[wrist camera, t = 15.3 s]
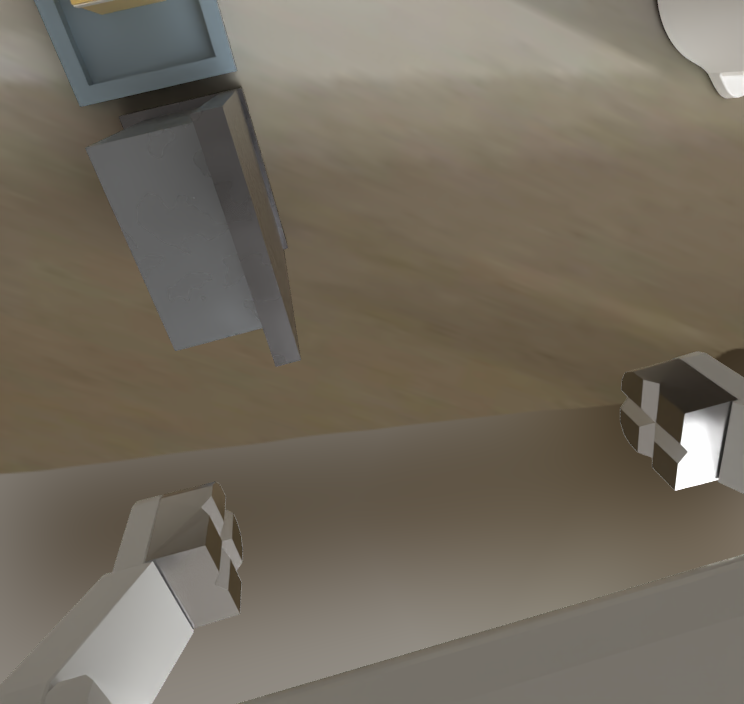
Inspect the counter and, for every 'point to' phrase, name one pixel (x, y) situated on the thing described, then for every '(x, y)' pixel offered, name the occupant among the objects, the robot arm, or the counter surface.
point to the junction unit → (201, 220)
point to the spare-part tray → (137, 46)
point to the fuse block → (110, 5)
